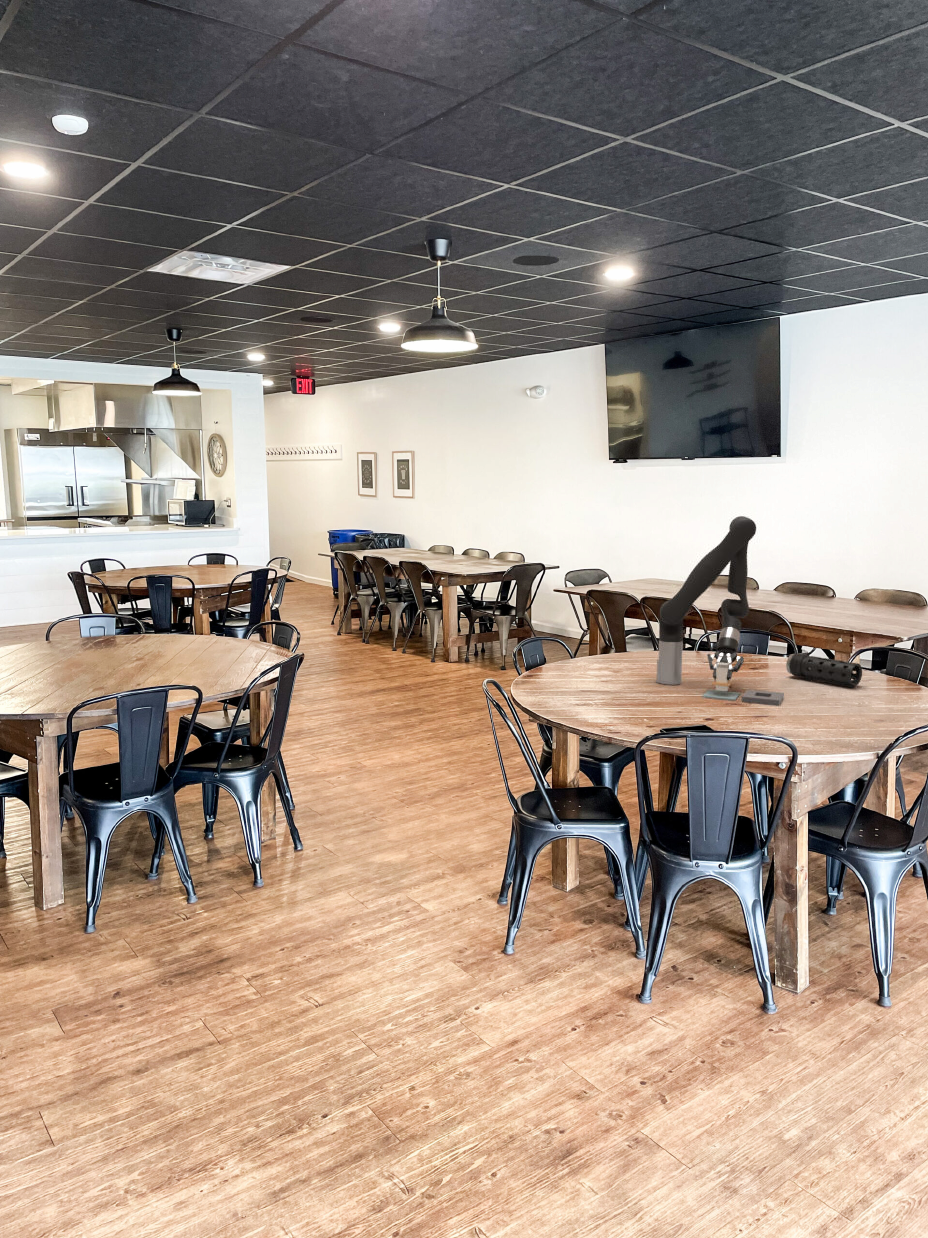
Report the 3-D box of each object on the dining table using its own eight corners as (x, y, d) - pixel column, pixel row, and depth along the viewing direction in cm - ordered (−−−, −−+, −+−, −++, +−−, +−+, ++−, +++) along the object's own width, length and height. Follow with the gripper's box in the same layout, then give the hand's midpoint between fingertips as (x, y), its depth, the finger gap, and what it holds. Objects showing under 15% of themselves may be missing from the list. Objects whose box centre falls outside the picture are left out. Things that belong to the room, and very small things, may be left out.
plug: (712, 690, 326) (713, 664, 325) (715, 687, 331) (716, 661, 330) (728, 692, 323) (729, 665, 322) (731, 688, 329) (732, 662, 327)
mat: (701, 697, 325) (702, 696, 325) (708, 691, 336) (708, 689, 336) (735, 700, 320) (735, 699, 320) (740, 694, 330) (740, 692, 330)
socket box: (741, 702, 318) (742, 696, 318) (747, 694, 330) (747, 689, 329) (779, 705, 312) (779, 700, 312) (783, 698, 324) (783, 692, 324)
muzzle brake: (849, 690, 337) (850, 664, 335) (784, 678, 359) (785, 653, 357) (861, 687, 343) (863, 661, 341) (797, 675, 365) (798, 651, 363)
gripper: (708, 634, 334) (700, 671, 325) (746, 637, 328) (740, 675, 319) (710, 646, 340) (703, 682, 331) (748, 648, 333) (742, 686, 324)
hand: (721, 678), depth 325 cm, fingers closed on plug, 4 cm apart
